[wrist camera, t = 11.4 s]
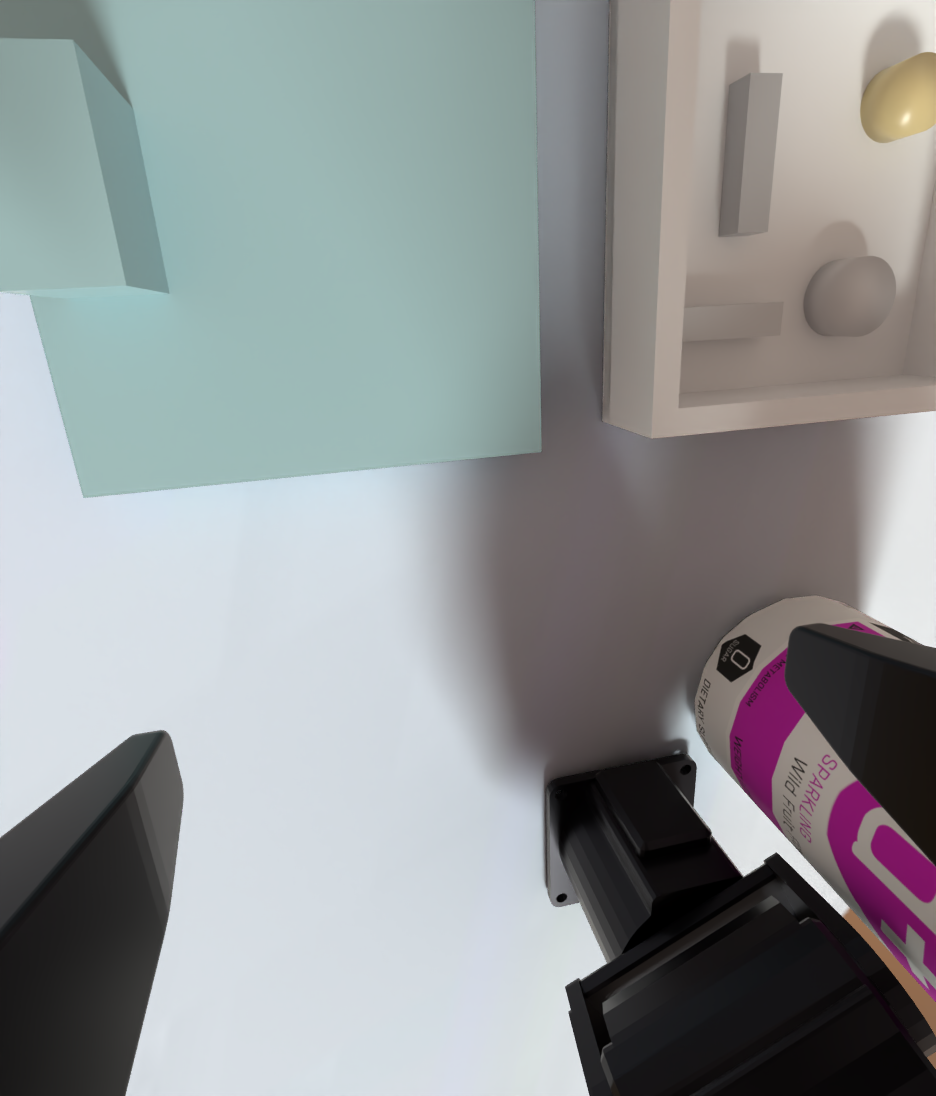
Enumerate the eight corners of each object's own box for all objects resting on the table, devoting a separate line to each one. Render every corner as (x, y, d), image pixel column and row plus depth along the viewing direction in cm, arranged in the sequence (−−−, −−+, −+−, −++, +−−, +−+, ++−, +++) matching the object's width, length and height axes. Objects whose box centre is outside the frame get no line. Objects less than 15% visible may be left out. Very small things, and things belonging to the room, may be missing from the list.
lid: (524, 442, 22) (592, 481, 16) (103, 482, 19) (20, 545, 14) (511, -95, 17) (602, -291, 11) (-52, -130, 14) (-271, -399, 9)
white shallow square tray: (903, 393, 24) (993, 405, 21) (602, 421, 22) (651, 438, 19) (978, -42, 20) (1109, -114, 16) (610, -62, 17) (677, -149, 14)
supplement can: (664, 761, 27) (1016, 1206, 14) (715, 581, 25) (1206, 901, 11) (822, 760, 30) (1267, 1146, 16) (883, 593, 27) (1475, 876, 13)
